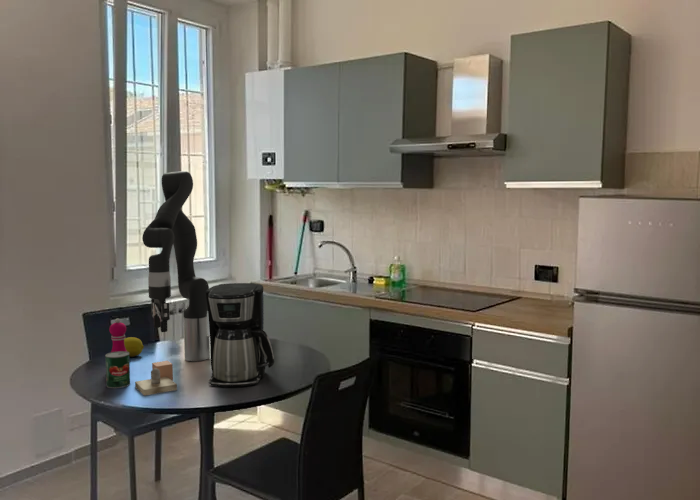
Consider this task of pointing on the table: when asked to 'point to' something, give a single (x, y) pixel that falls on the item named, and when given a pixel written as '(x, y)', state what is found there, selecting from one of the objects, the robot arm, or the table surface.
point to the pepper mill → (118, 336)
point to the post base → (155, 384)
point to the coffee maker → (237, 334)
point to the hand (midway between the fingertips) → (160, 329)
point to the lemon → (133, 346)
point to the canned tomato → (117, 369)
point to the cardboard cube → (164, 368)
